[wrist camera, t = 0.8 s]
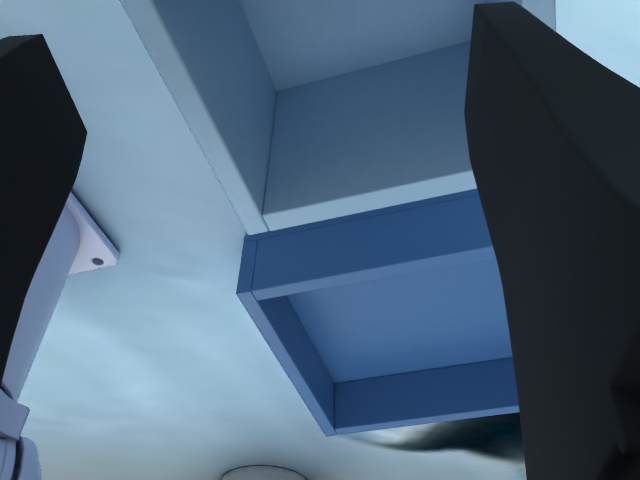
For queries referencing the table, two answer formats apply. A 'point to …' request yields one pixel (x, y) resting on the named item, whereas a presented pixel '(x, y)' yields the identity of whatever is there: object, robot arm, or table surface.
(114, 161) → the table surface
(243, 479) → the coffee cup
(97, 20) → the table surface
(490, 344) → the steel blue bin
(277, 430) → the table surface
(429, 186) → the pale blue bin
